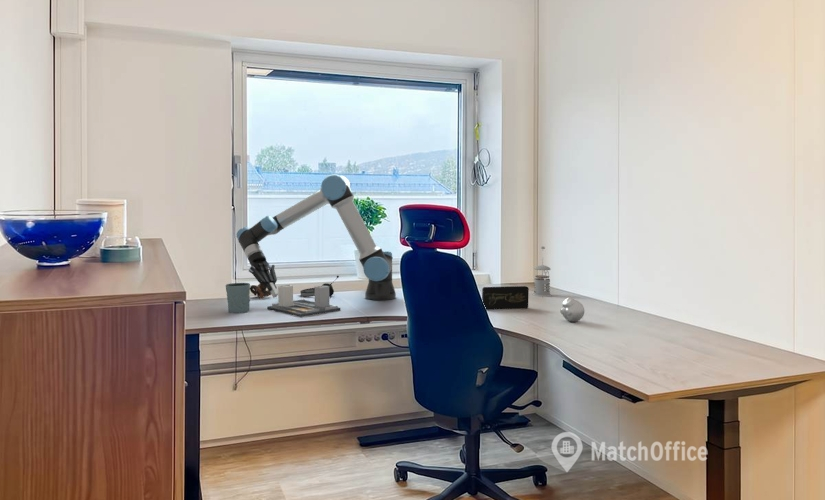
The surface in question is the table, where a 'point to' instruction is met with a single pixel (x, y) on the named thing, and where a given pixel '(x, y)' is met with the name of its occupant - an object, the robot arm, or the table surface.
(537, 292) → the french press
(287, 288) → the white fader
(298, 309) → the grey board
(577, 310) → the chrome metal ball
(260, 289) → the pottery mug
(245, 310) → the green tapered cup
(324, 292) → the block
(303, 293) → the headset
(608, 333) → the table surface
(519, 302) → the nameplate
